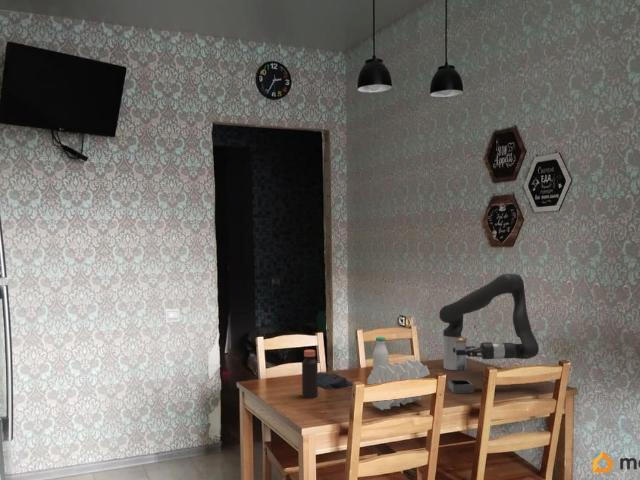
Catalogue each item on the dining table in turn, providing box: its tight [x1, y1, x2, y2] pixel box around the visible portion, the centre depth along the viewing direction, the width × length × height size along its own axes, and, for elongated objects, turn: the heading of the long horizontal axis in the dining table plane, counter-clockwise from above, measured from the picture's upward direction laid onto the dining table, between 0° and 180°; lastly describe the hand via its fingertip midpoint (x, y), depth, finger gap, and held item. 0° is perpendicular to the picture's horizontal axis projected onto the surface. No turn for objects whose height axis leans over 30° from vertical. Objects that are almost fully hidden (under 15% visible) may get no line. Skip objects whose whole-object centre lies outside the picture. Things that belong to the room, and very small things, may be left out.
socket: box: [448, 379, 475, 394], centre depth 260 cm, size 9×9×4 cm
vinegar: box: [301, 349, 319, 399], centre depth 253 cm, size 7×7×20 cm
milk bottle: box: [372, 336, 390, 370], centre depth 284 cm, size 8×8×20 cm
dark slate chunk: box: [318, 371, 353, 390], centre depth 276 cm, size 15×22×5 cm
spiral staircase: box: [366, 358, 430, 411], centre depth 239 cm, size 18×18×25 cm
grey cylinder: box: [455, 336, 468, 371], centre depth 260 cm, size 5×5×14 cm
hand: (454, 351), depth 260 cm, fingers closed on grey cylinder, 4 cm apart
